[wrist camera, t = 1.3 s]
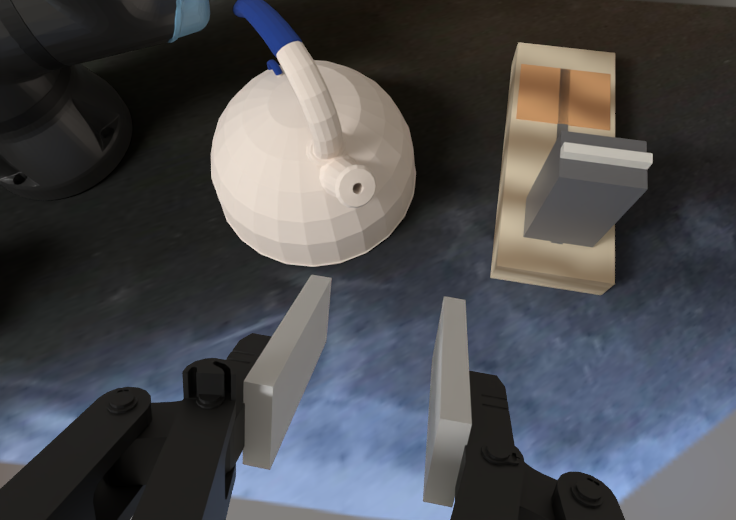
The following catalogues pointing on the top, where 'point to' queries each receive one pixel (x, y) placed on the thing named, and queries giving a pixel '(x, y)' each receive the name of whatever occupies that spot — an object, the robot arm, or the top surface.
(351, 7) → the top surface
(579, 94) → the fader console
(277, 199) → the kettle
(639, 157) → the fader knob
